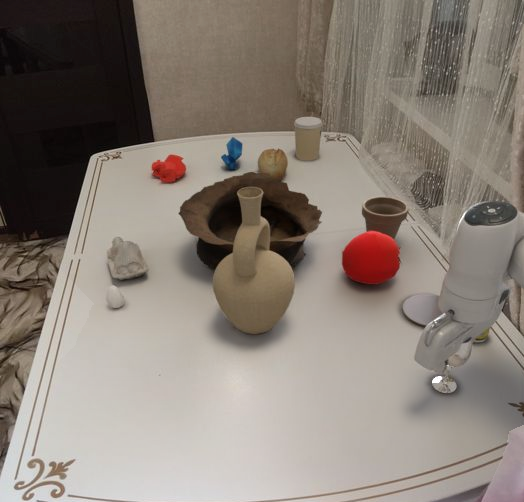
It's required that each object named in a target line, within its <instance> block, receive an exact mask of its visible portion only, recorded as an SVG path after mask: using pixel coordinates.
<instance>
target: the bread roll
mask: <svg viewBox="0 0 524 502" xmlns="http://www.w3.org/2000/svg"><path fill="white" fill-rule="evenodd" d="M288 165H289V161H288V157H287V155H286V153H285V152H284V151H283V150H282V149H280V148H277V149H275V148H268V149H264V150H263V151H262V152H261V153H260V155H259V157H258V158H257V167H258V173H269V174H270V175H271V176H272V177H274V178H276V179H277V180H279V181H281V180H282V179H283V177H284V176H285V174H286V173H287V169H288Z"/></svg>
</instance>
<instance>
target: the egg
mask: <svg viewBox="0 0 524 502" xmlns="http://www.w3.org/2000/svg"><path fill="white" fill-rule="evenodd" d="M105 299H106V304H107V305H108V306H109V307H110V308H113V309H119V308H121V307H123V306H124V304H125V302H126V300H125V296H124V294H123V293H122V290H121V289H119V288H118V287H117V286H116V285H114V284H113V285H111V286H109V288H108V289H107V292H106V295H105Z"/></svg>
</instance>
